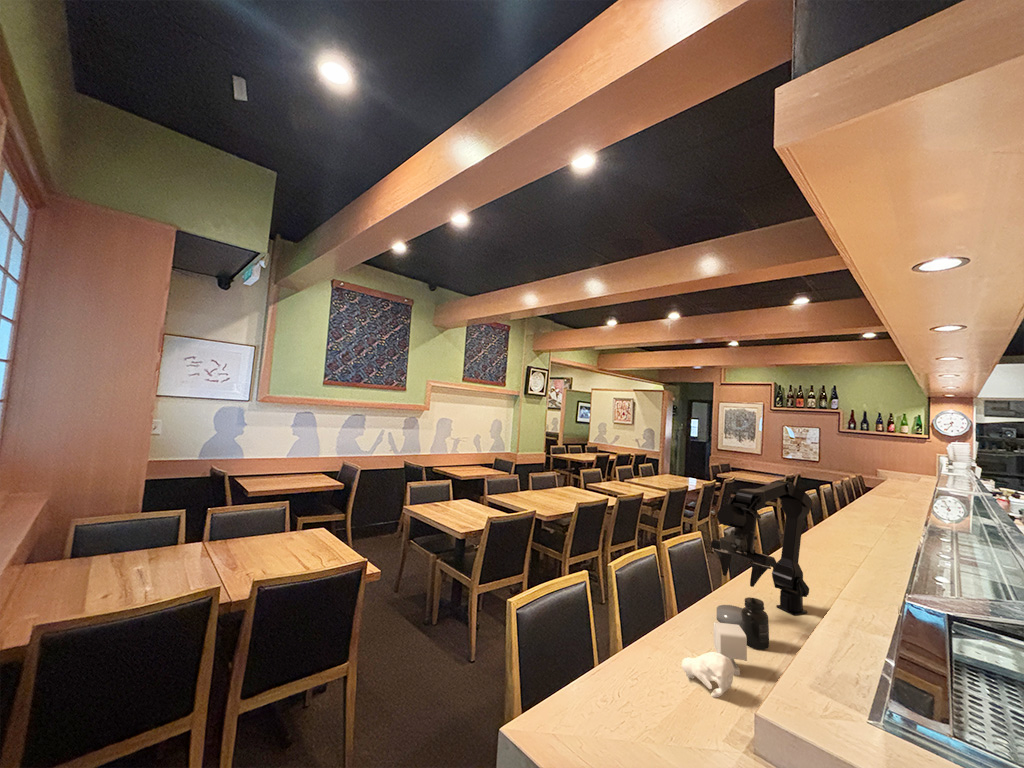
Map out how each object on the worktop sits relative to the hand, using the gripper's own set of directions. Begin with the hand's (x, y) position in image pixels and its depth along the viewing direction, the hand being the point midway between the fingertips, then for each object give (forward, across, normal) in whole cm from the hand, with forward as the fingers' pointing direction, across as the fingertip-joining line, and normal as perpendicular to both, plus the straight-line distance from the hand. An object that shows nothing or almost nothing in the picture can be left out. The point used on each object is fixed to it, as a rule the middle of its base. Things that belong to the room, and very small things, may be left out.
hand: (737, 580), depth 131 cm
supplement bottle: (+15, +9, -2) cm, 17 cm away
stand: (+13, -2, +4) cm, 14 cm away
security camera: (+19, +14, -19) cm, 30 cm away
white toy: (+22, +16, -30) cm, 40 cm away
